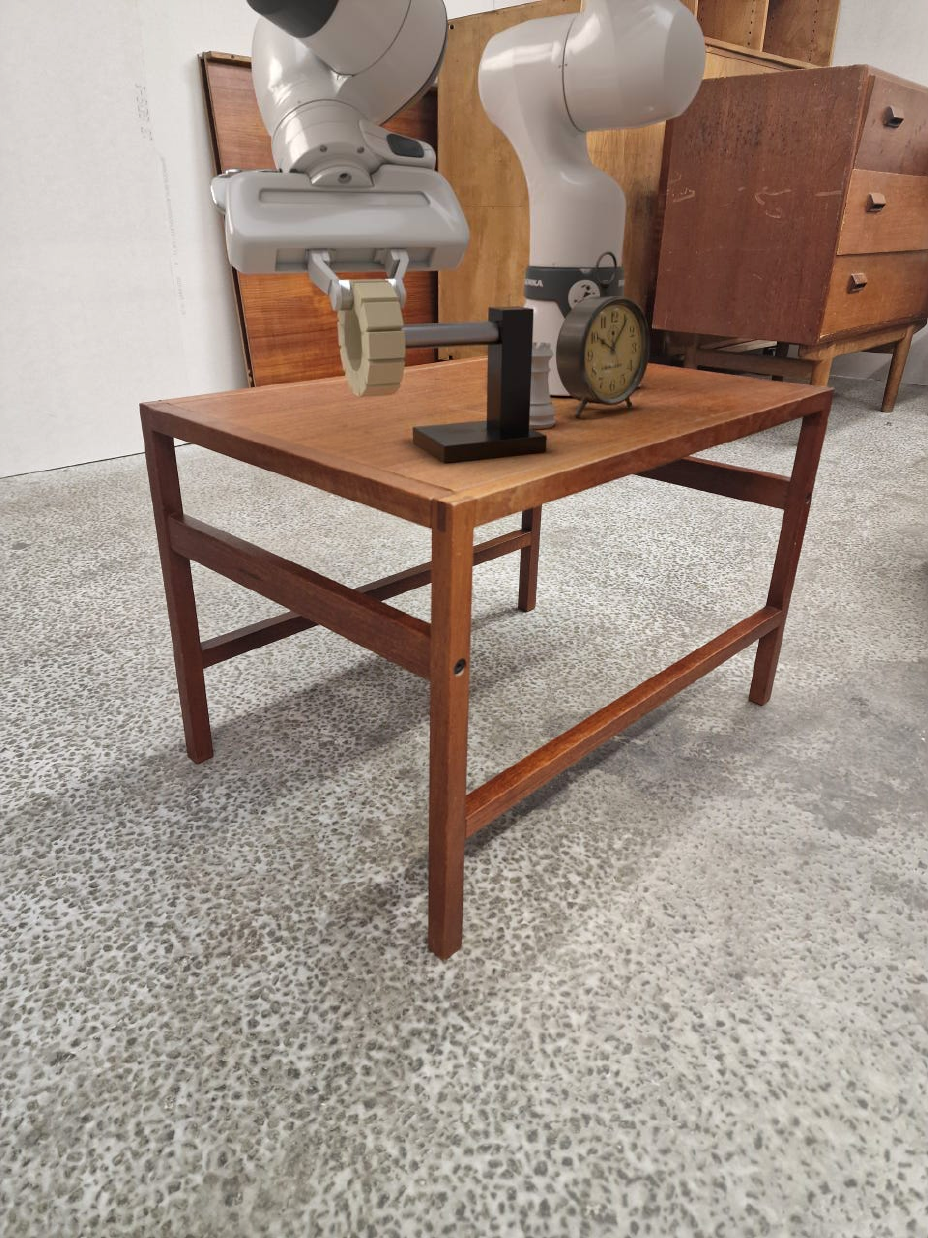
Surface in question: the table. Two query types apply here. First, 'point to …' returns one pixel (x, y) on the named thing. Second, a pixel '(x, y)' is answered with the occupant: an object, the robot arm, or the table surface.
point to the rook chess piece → (541, 388)
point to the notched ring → (372, 339)
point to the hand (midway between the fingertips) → (371, 304)
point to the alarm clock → (603, 347)
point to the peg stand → (505, 387)
